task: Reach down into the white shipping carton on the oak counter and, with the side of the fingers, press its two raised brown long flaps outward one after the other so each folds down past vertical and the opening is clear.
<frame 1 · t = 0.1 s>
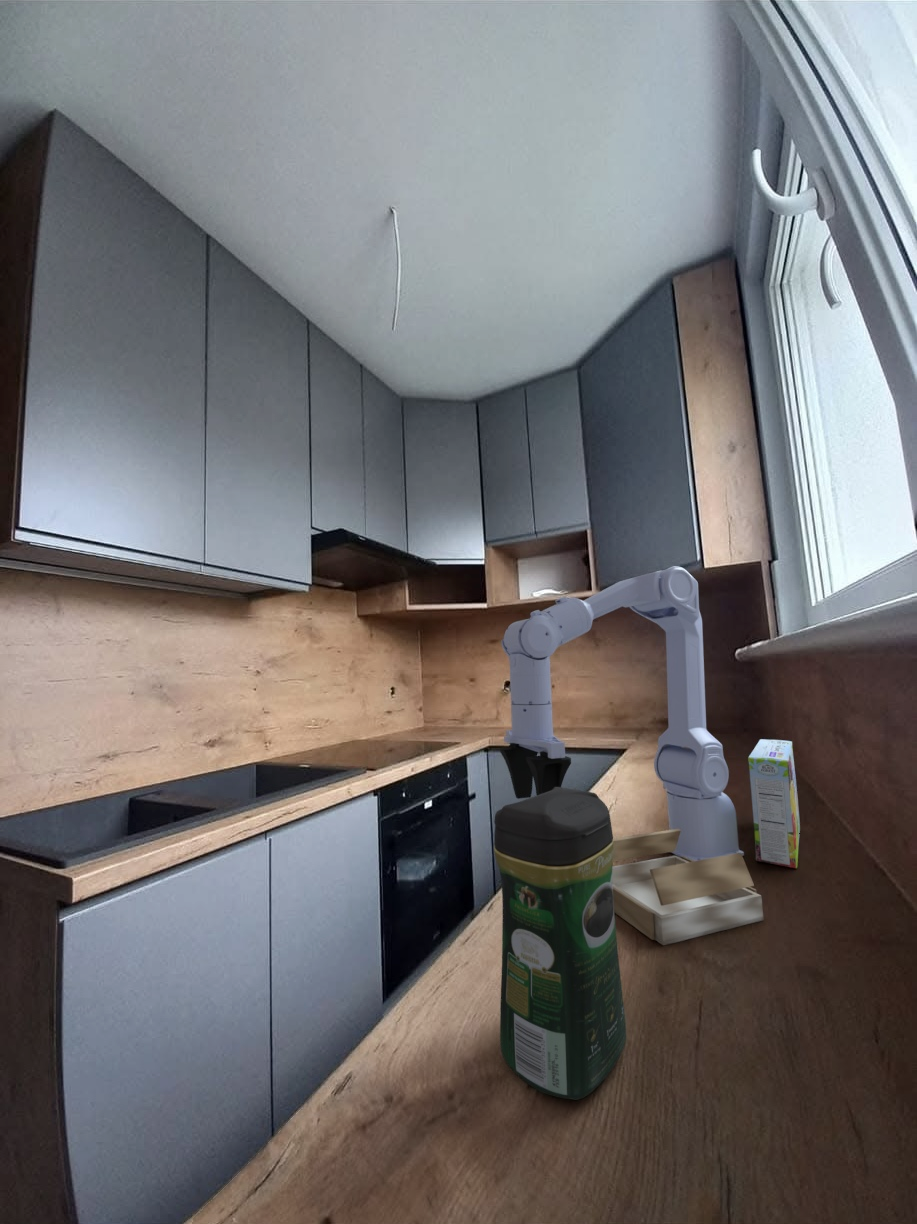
hand: (535, 804, 66), 10 cm above the table, tool pointing down, fingers open, 7 cm apart
carton: (670, 905, 58), on the table
snack box: (779, 845, 77), on the table
flap 2: (702, 877, 54), point 5 cm above the table, hinge at 25.0°
coffee jar: (562, 1054, 36), on the table
flap 1: (638, 846, 64), point 5 cm above the table, hinge at 25.0°
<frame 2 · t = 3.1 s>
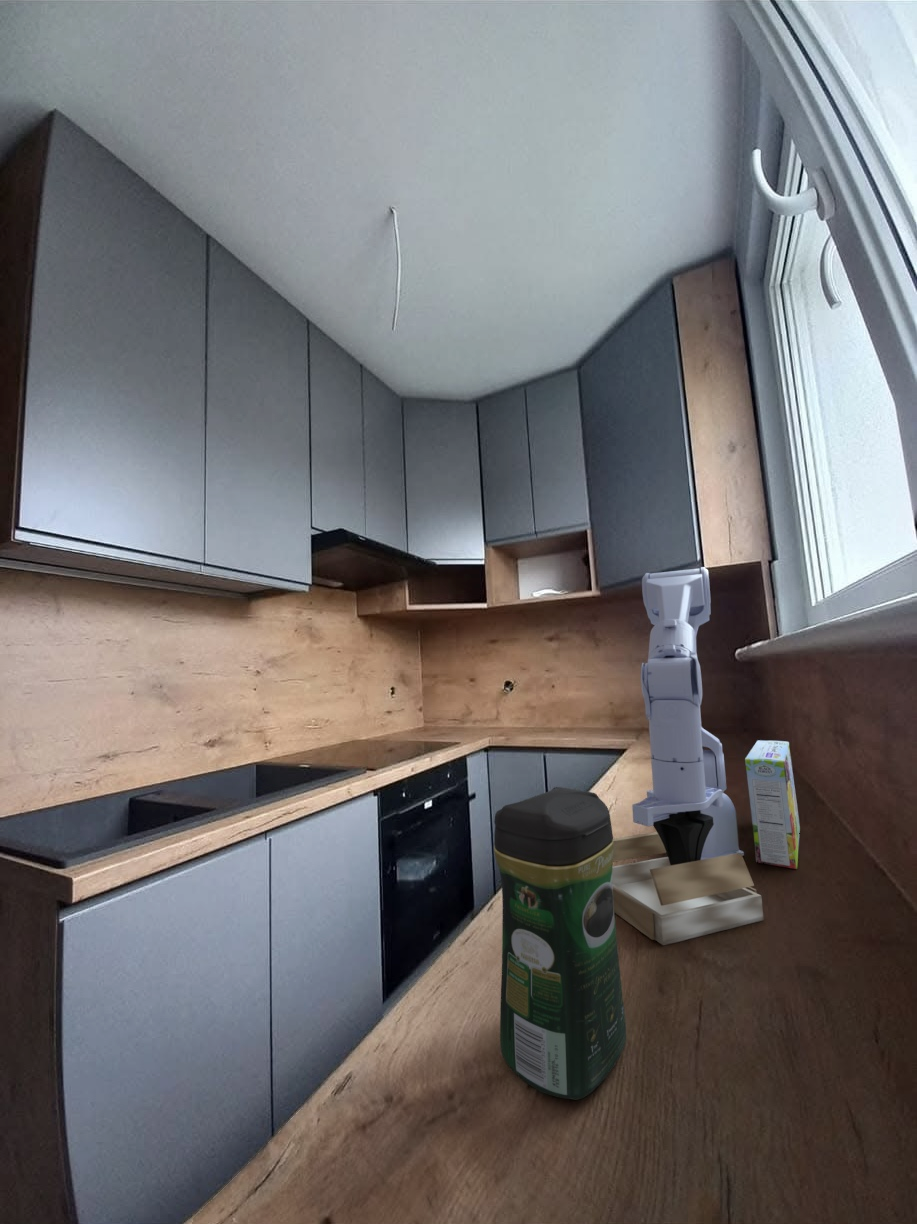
hand: (685, 879, 56), 4 cm above the table, tool pointing down, fingers closed, pressing on flap 2
flap 2: (702, 877, 54), point 5 cm above the table, hinge at 24.9°, touching gripper
everything else where it was.
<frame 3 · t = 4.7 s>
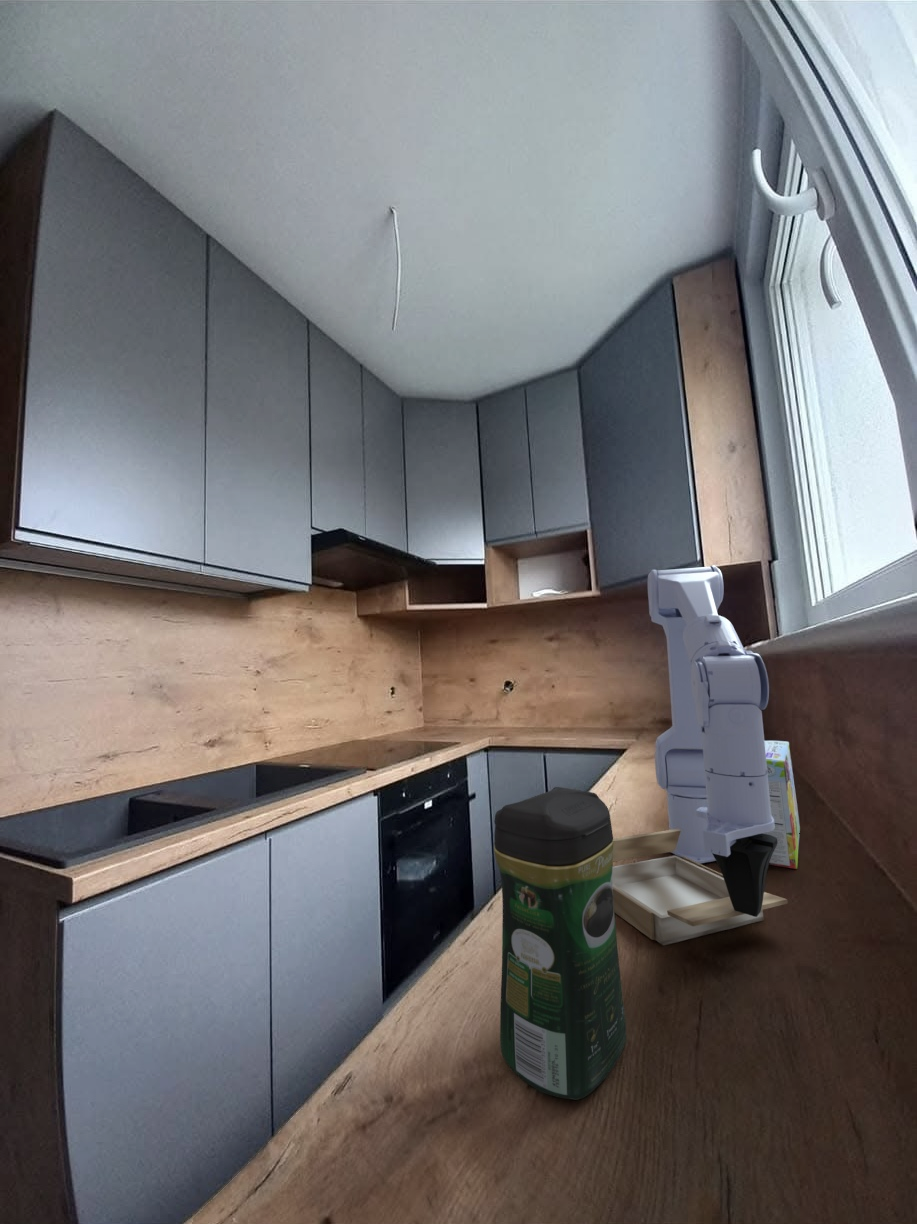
hand: (747, 911, 49), 4 cm above the table, tool pointing down, fingers closed
flap 2: (728, 906, 51), point 3 cm above the table, hinge at -83.2°
everything else where it was.
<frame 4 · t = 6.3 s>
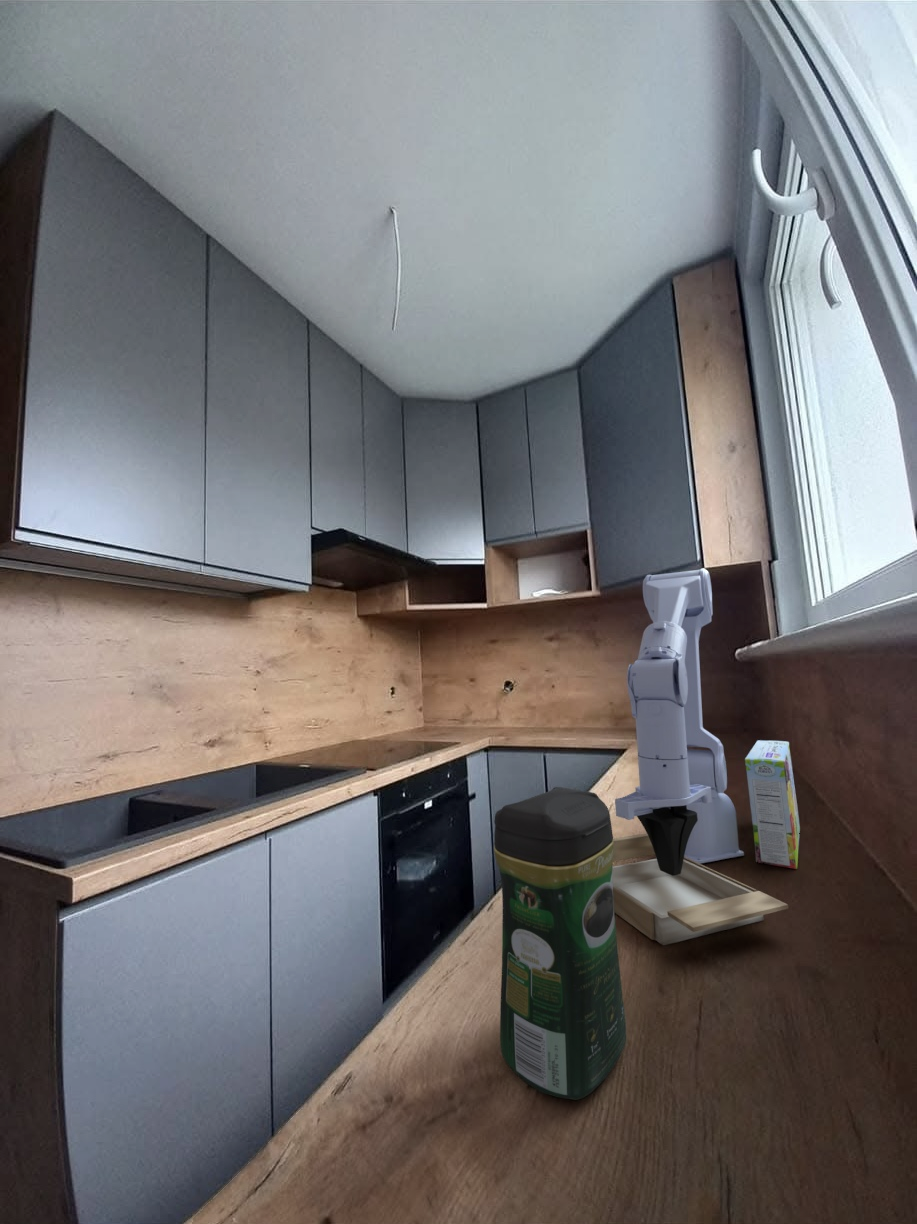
hand: (670, 871, 58), 4 cm above the table, tool pointing down, fingers closed
flap 2: (728, 909, 51), point 3 cm above the table, hinge at -90.6°
everything else where it was.
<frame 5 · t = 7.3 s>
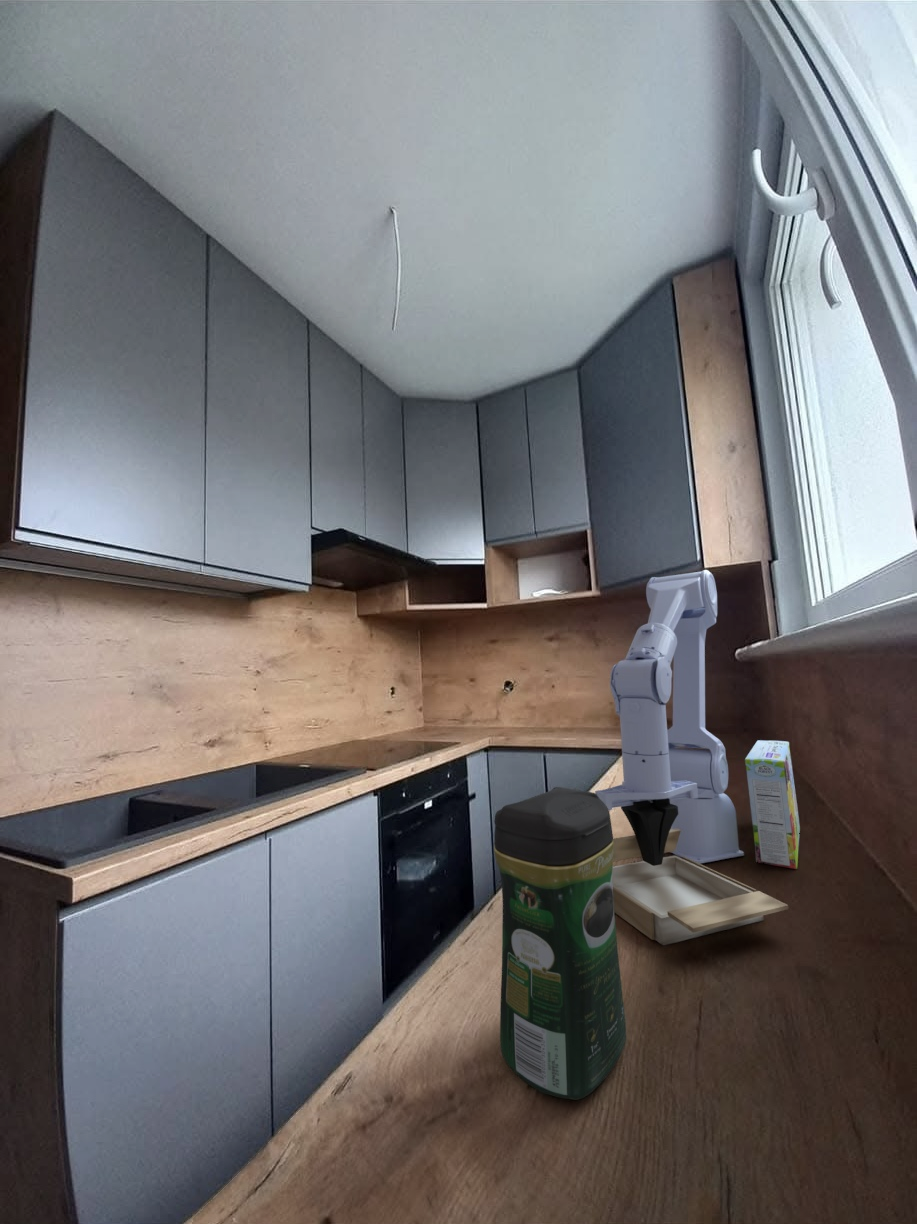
hand: (652, 862, 61), 4 cm above the table, tool pointing down, fingers closed, pressing on flap 1
flap 2: (728, 910, 51), point 3 cm above the table, hinge at -91.5°
flap 1: (638, 846, 64), point 5 cm above the table, hinge at 24.9°, touching gripper
everything else where it was.
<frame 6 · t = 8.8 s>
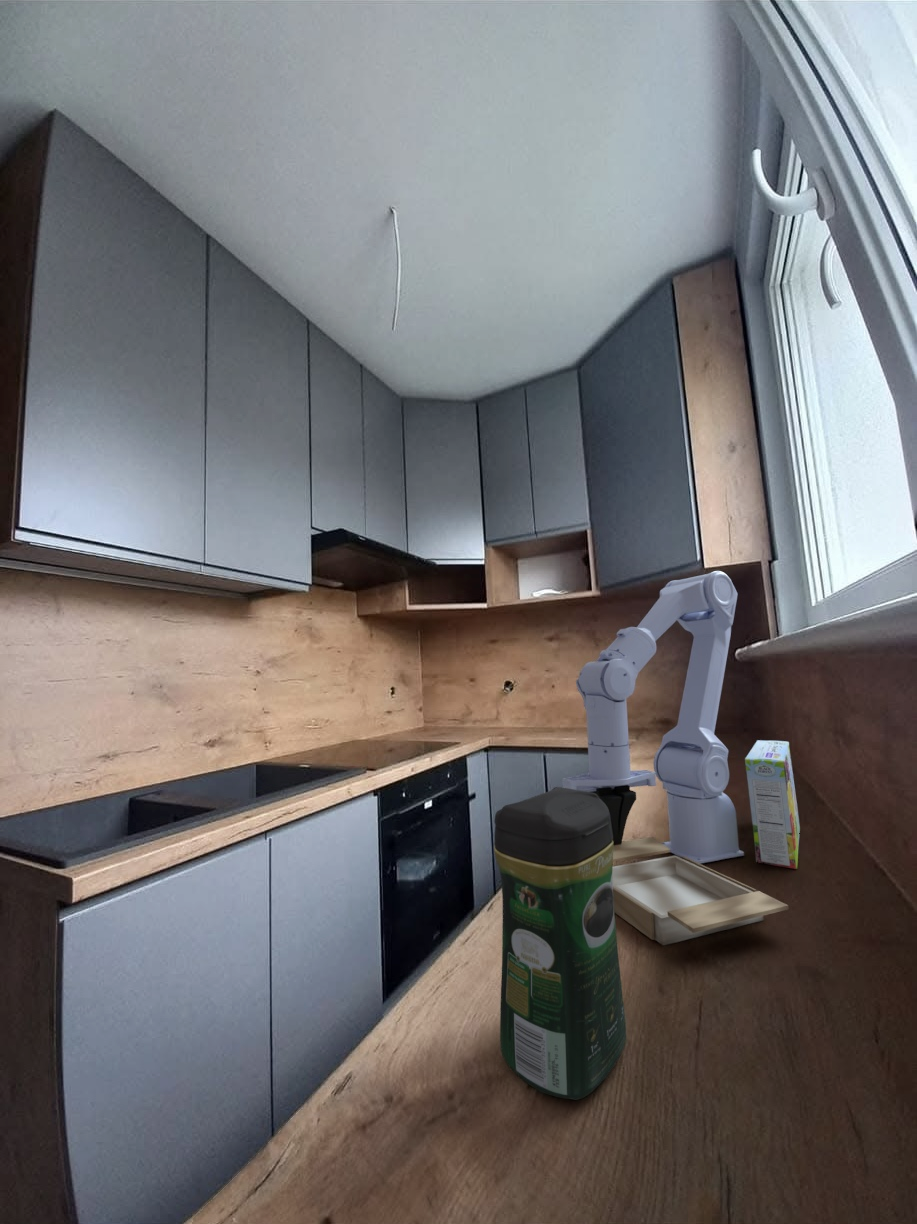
hand: (613, 842, 68), 4 cm above the table, tool pointing down, fingers closed, pressing on flap 1
flap 2: (728, 910, 51), point 3 cm above the table, hinge at -91.8°
flap 1: (623, 850, 66), point 4 cm above the table, hinge at -78.1°, touching gripper
everything else where it was.
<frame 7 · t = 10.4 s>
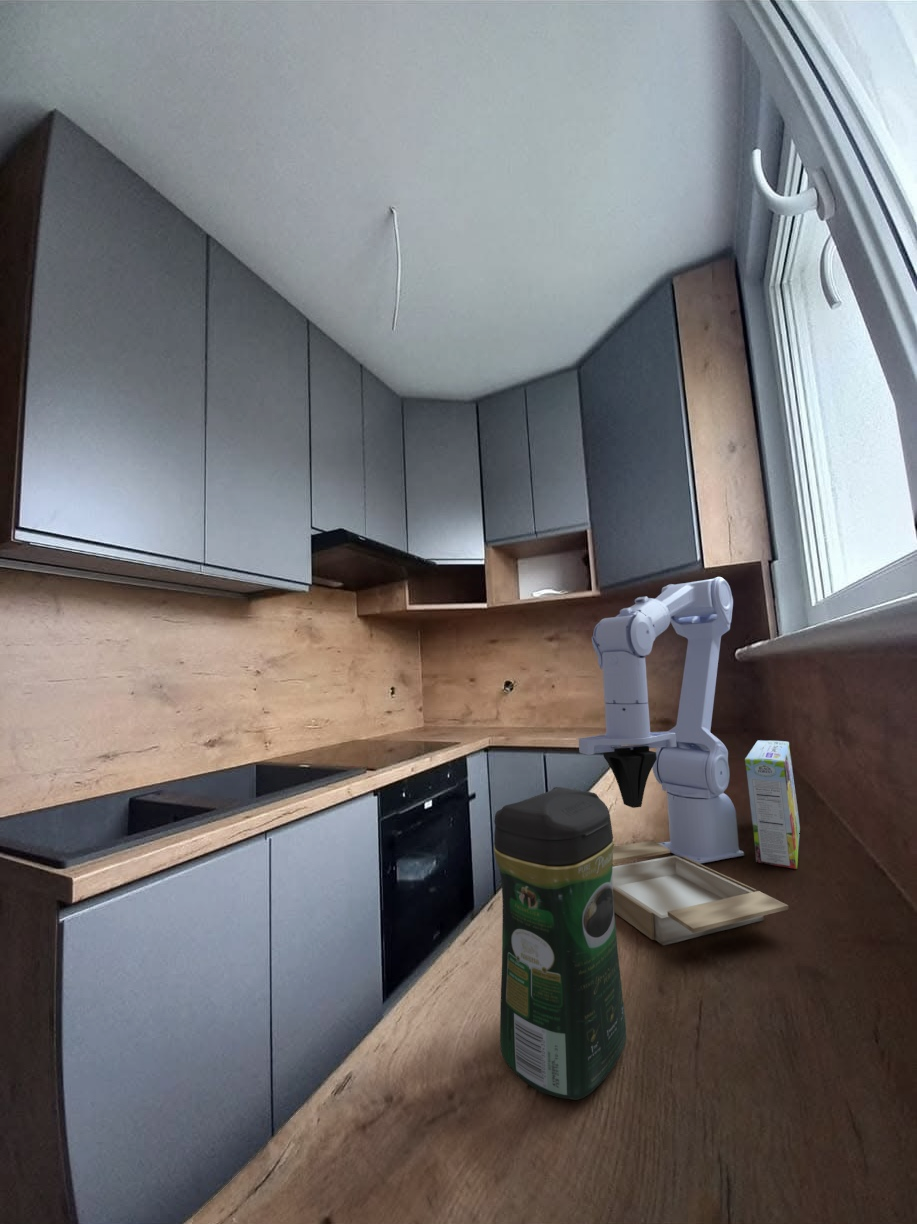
hand: (632, 805, 65), 10 cm above the table, tool pointing down, fingers closed
flap 1: (623, 852, 66), point 3 cm above the table, hinge at -86.4°
everything else where it was.
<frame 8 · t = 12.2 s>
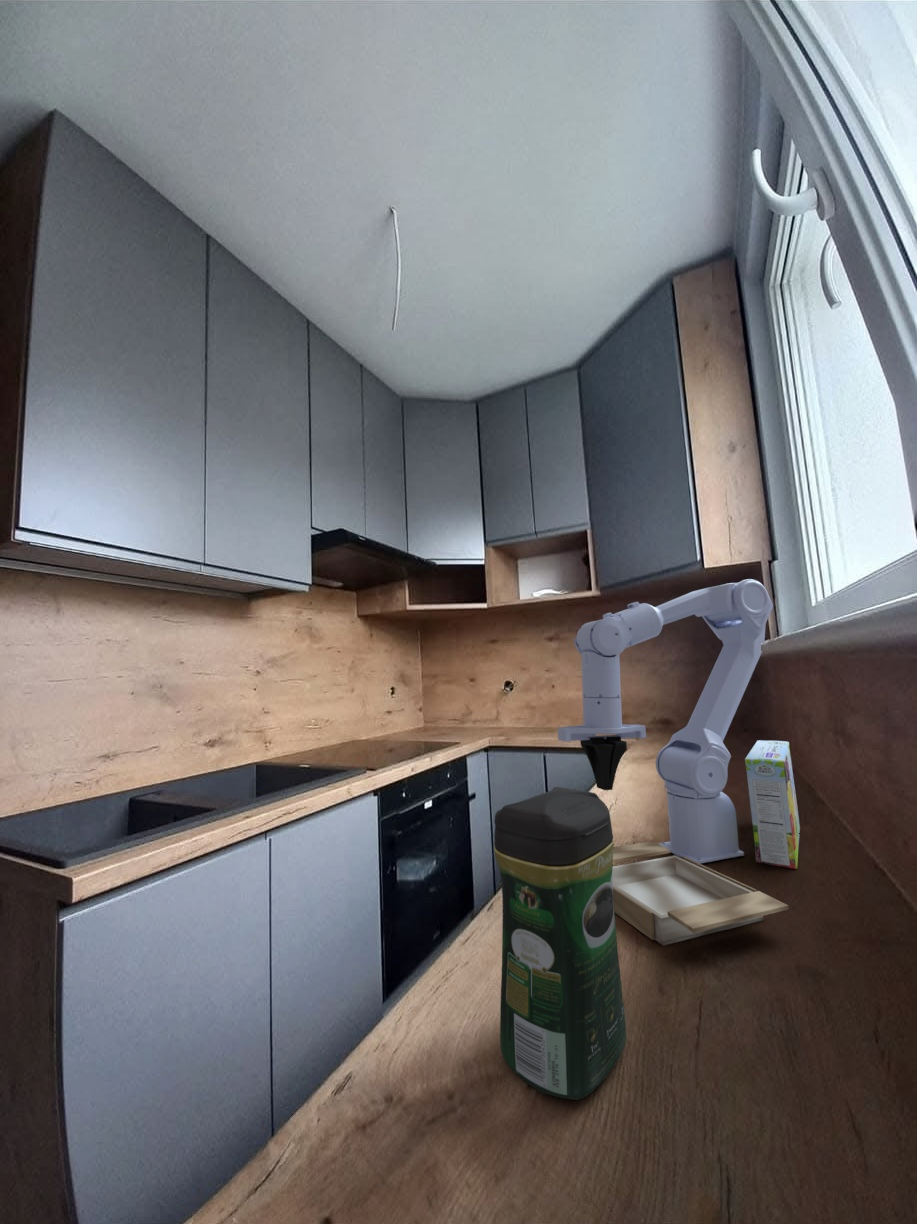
hand: (604, 788, 73), 10 cm above the table, tool pointing down, fingers closed
flap 1: (623, 853, 66), point 3 cm above the table, hinge at -87.7°
everything else where it was.
at the end: flap 2 at -92° (first picture: +25°); flap 1 at -88° (first picture: +25°) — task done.
